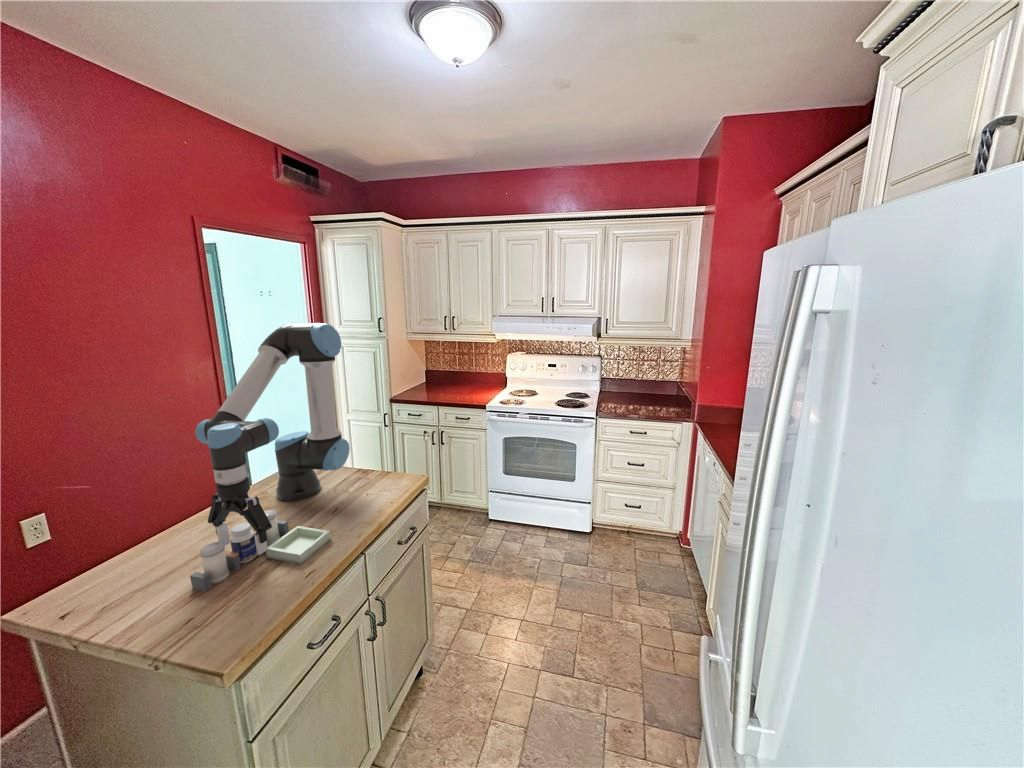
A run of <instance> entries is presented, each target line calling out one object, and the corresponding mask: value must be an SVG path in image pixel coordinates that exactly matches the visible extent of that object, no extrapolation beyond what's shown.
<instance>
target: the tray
mask: <svg viewBox="0 0 1024 768" xmlns="http://www.w3.org/2000/svg"><path fill="white" fill-rule="evenodd" d="M331 540H332V536H331V531H330V530H326V529H319V528H313V527H307V526H301V525H297V526H296V527H295V526H294V528H292V529H291V530H289V532H288V533H287V534H285V535H282V536H280V539H278V540H277V541H276V542H274V543H273V544H271V545H269V546H267V548H268V550H266V551H265V552H266V553H265V554H266V558H267V559H270V560H277V561H281V562H282V561H283V562H287V563H292V564H298V565H303V564H304V563H306V561H308V560H309V559H310V558H311V557H313V555H315V554H317V552H319V551H320V550H321V549H322V548H323V547H324V546H325V545H327V544H328V543H329V542H331Z"/></svg>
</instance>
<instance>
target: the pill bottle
mask: <svg viewBox="0 0 1024 768" xmlns="http://www.w3.org/2000/svg"><path fill="white" fill-rule="evenodd" d="M254 533H255V531H253V530H252V526H251V525H250V524H249V523H248V522H241V523H238V524H236V525H234V526H233V527H231V529H230V534H231V537H230V546H231V547H230V548H231V552H235V553H239V558H240V564H245V563H248V562H251V561H253V560H254V559H255V558H256V557H257V556H258V555H257V549H256V543H255V536H254Z"/></svg>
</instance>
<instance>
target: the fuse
mask: <svg viewBox="0 0 1024 768" xmlns="http://www.w3.org/2000/svg"><path fill="white" fill-rule="evenodd" d="M263 511H264V512H265V514H266V516H267V518H268V520H269V521H270V523H271V525H272V528H270V529H269V530H267V531H266V534H267V541H266V542H267V547H269V546H270V545H271V544H273V543H274V542H276V541H277V540H278V539H280V538H281V536H280V534H279V530H278V524H277V520H278V519H277V518H278V517H277V511H276V510H274V509H269V510H267V509H266V510H263Z"/></svg>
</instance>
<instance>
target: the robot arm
mask: <svg viewBox="0 0 1024 768" xmlns="http://www.w3.org/2000/svg"><path fill="white" fill-rule="evenodd" d="M341 349H342V339H341V337H340V333H339V332H338V331H337V329H336V328H335V327H334V326H333V325H331V324H329V323H322V322H311V323H310V322H309V323H307V322H304V323H303V322H302V323H301V322H298V323H297V322H290V323H286V324H284V325H282V326H280V327H278V328H277V329H275V330H274V331H273V332H271V333H270V334H269V335H268V336H267V337H266V338H265V339H264V341H262V343H261V344H260V345H259V347H258V349H257V352H258V354H257V355H256V357H255V358H254V359H253V361H252V362H251V364H250V365H249V367H248V368H247V369H246V370H245V372H244V374H243V375H242V377H240V379H239V380H238V383H237V384H236V385H235V386H234V388H233V389H232V390H231V392H230V393H229V395H228V396H227V398H226V399H225V400H224V402H223V403H222V405H221V406H220V408H219V409H218V410H217V412H216V413H215V414H214V416H213V417H212V418H208V419H204V420H202V421H200V422H199V423H198V424H197V426H196V428H195V432H194V433H195V437H196V439H197V440H198V441H199V442H200V443H202V444H206V445H207V447H208V450H209V455H210V461H211V466H212V470H213V478H214V482H215V483H216V484H215V491H216V493H215V494H213V495H211V500H212V502H211V507H210V511H209V514H208V518H207V523H208V524H212V525H213V527H214V528H215V532H216V536H217V540H218V541H217V542H223V543H224V546H225V547H226V546H227V545H230V544H231V541H230V539H231V537H230V534H229V533H230V532H229V526H228V522H226V521H227V517H228V516H229V514H230V512H231V513H233V512H234V513H236V514H237V513H238V514H239V516H243V517H244V519H245V520H246V522H247V523H249V524H250V525H251V528H252V529H253V530H254V536H255V543H256V549H257V556H260V555H262V554H263V553H265V552H266V550H268V548H267V547H268V546H267V542H266V541H267V534H266V531H267V530H269V529H270V528H272V525H271V523H270V521H269V520H268V518H267V516H266V514H265V512H264V511H265V510H264V509H263V507H262V505H261V503H260V500H259V497H258V496H254V497H250V496H249V491H250V490H251V486H250V485H251V484H250V480H249V479H250V478H249V476H248V475H249V471H248V470H249V469H248V464H247V461H246V460H247V459H246V454H247V453H250V452H251V451H253V450H256V449H259V448H260V447H263V446H265V445H266V446H267V445H269V444H270V443H271V442H274V452H275V459H276V463H277V469H278V481H277V487H276V489H275V492H276V498H277V499H278V500H280V501H286V502H289V501H299V500H302V499H306V498H309V497H311V496H313V495H315V494H316V493H318V492H319V491H320V490H321V489H322V488H321V481H320V479H319V478H318V475H317V474H316V471H315V470H319V471H337V470H340V469H342V467H343V466H344V465H345V463H346V462H347V460H348V458H349V455H350V451H351V450H350V448H351V447H350V443H349V442H348V440H347V439H345V438H343V436H342V431H341V430H339V429H338V428H337V419H336V418H337V417H336V407H335V396H334V395H335V394H334V384H333V382H334V381H333V370H332V365H333V364H334V362H336V356H338V355H339V354H340V352H341ZM293 357H298V360H299V361H298V362H299V363H300V365H302V366H304V373H305V383H306V385H305V386H306V393H307V403H308V413H309V415H308V416H309V425H310V432H308V431H306V430H305V431H304V430H303V431H296V432H291V433H288V434H283V435H282V436H279V434H280V430H279V426H278V424H277V422H275V420H274V419H271V418H268V417H265V418H259V419H257V420H254V421H249V420H247V421H246V419H247V417H248V416H249V414H250V413H251V411H252V410H253V408H254V407H255V406H256V404H257V402H258V401H259V399H260V397H261V396H262V394H263V393H264V391H265V390H266V389H267V387H268V386H269V384H270V382H271V381H272V380H273V378H274V376H275V375H276V373H277V372H278V370H279V369H280V367H281V366H282V365H286V364H287V363H288V361H289V359H291V358H293Z"/></svg>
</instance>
